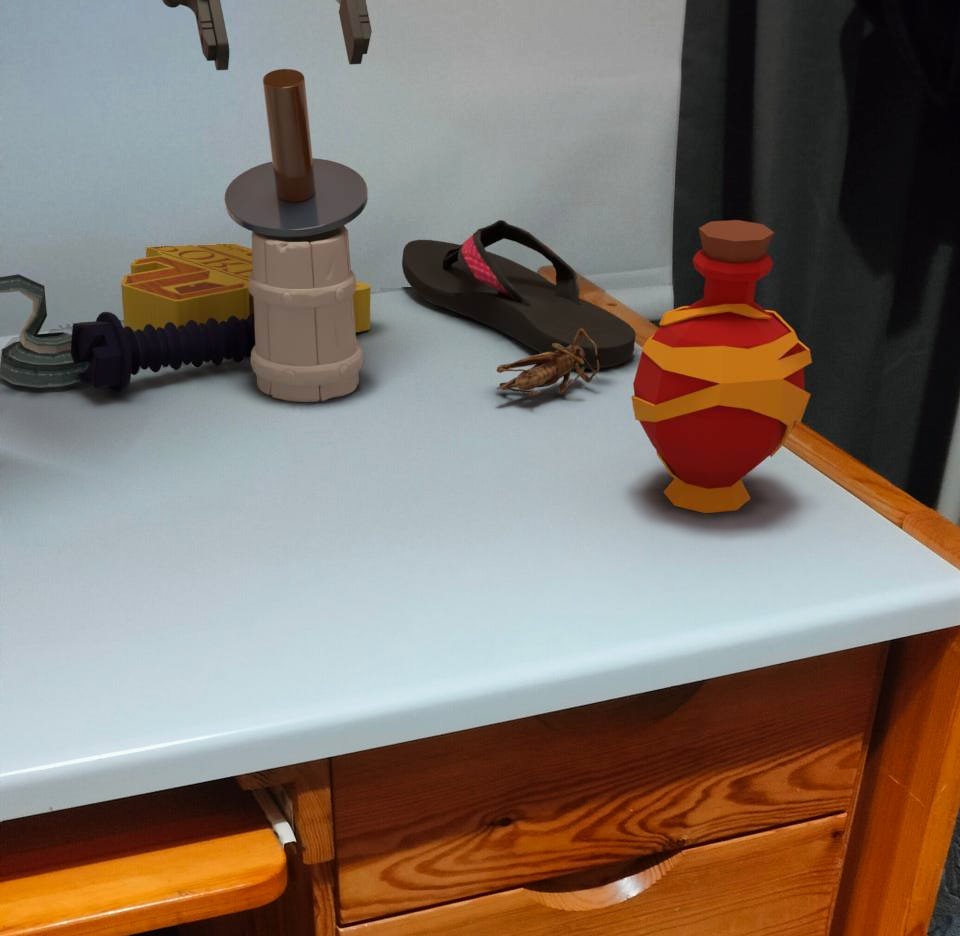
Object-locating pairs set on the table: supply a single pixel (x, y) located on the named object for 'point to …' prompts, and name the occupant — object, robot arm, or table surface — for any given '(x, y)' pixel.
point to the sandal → (515, 294)
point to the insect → (549, 367)
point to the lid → (293, 173)
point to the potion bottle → (721, 375)
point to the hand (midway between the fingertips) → (291, 59)
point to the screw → (155, 347)
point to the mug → (304, 316)
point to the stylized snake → (37, 345)
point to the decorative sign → (200, 287)
